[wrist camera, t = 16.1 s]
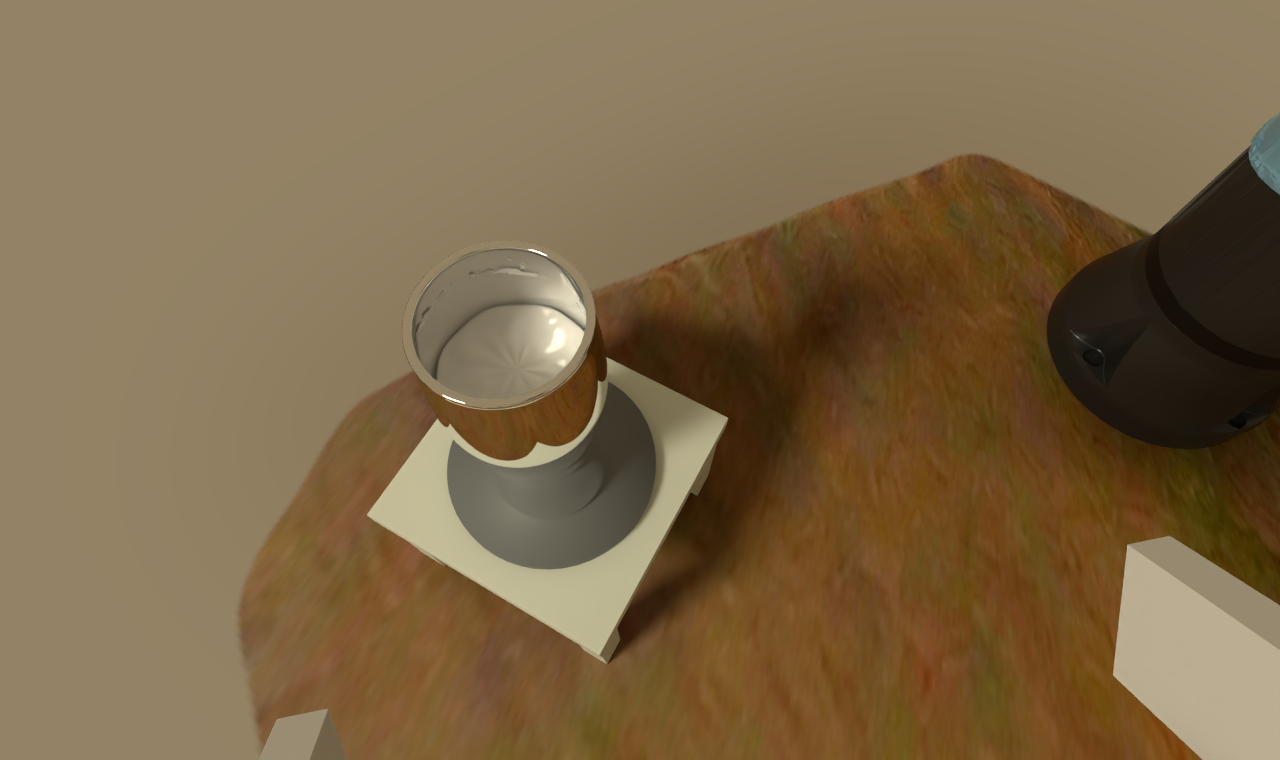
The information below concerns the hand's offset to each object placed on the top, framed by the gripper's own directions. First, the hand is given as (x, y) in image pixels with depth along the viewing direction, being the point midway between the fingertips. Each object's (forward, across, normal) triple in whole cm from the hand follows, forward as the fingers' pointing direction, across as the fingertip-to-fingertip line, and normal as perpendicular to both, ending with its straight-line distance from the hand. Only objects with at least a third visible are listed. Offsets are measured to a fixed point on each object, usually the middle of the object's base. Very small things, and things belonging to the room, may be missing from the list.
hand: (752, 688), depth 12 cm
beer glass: (+26, -4, -7) cm, 27 cm away
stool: (+33, -4, -15) cm, 36 cm away
